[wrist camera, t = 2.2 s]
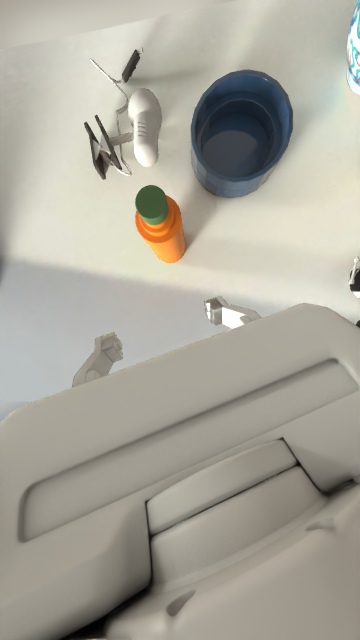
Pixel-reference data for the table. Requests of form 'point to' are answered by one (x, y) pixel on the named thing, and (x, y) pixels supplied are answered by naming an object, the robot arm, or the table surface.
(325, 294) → the table surface
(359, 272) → the robot toy
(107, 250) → the table surface
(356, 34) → the chinaware
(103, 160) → the clip-on lamp
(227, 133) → the bowl
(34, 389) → the table surface
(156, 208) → the juice bottle
